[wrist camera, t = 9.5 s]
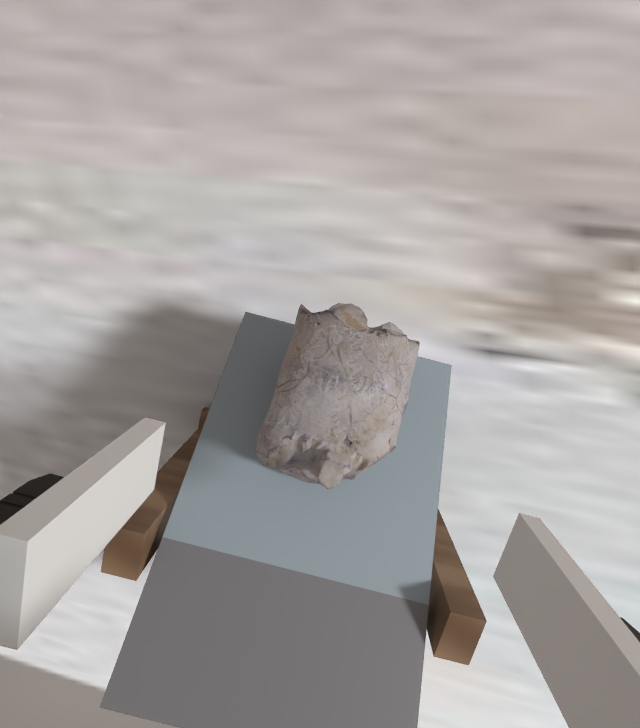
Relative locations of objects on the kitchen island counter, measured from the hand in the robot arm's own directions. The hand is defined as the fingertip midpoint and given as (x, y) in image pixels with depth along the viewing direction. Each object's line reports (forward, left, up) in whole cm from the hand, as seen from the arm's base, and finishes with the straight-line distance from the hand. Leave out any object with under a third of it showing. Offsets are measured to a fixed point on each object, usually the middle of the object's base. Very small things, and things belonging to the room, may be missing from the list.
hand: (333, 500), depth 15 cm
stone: (+1, 0, -14) cm, 14 cm away
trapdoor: (+8, 0, -13) cm, 15 cm away
